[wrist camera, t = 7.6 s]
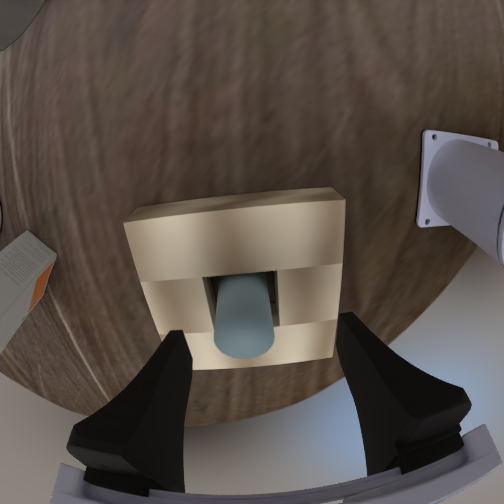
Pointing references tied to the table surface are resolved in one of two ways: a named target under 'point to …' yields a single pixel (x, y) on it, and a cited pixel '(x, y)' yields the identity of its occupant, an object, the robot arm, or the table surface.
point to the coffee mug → (16, 18)
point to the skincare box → (22, 281)
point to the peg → (243, 316)
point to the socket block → (244, 267)
